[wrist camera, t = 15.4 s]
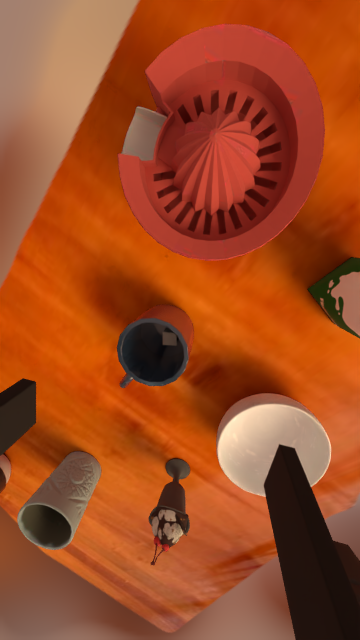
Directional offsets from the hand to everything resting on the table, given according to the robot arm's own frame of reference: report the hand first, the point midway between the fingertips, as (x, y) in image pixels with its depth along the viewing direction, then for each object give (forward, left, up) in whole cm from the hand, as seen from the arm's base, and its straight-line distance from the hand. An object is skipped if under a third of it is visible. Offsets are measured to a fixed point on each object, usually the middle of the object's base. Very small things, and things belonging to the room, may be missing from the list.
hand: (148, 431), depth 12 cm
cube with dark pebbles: (+4, -4, -26) cm, 26 cm away
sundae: (+32, +3, -28) cm, 42 cm away
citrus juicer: (-17, -1, -28) cm, 32 cm away
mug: (+6, -5, -27) cm, 28 cm away
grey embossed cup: (+38, -17, -28) cm, 50 cm away
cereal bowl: (+17, +16, -28) cm, 36 cm away
